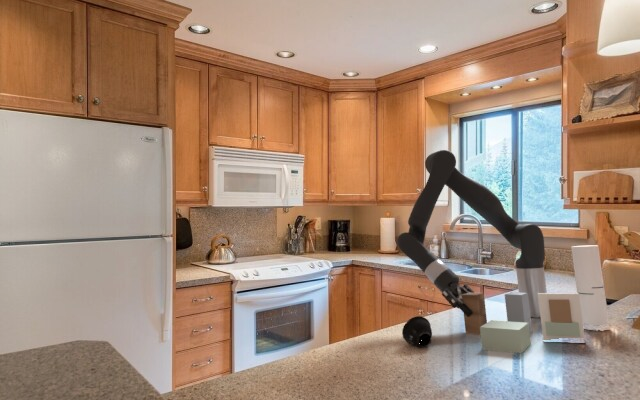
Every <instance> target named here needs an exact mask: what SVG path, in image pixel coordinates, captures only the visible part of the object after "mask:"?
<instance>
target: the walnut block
mask: <svg viewBox="0 0 640 400" xmlns="http://www.w3.org/2000/svg"><path fill="white" fill-rule="evenodd" d="M462 296H463V298H462V300H463V302H464V304H466V305H467V306H468V307H469V308H470V309H471V310H472V311H473V314H472V315H471V316H470V317H467V316H466V315H465V314H464V313H463V321H464V329H465V334H472V335H473V334H474V335H480V336H481V334H480V327H481V326H483V325H484V324H486V323H488V320H487V318H488V317H487V310H486V301H485V293H484V292H475V293H466V294H462Z"/></svg>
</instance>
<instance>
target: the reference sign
mask: <svg viewBox="0 0 640 400" xmlns="http://www.w3.org/2000/svg"><path fill="white" fill-rule="evenodd" d="M538 300H539V308H540V317H539V318H540V325H541V332H542V341H543V340H551V339H559V338H585V339H586V337H585V330H584V328H583V320H582V312H581V305H580V297H579V293H578V292H557V293H556V292H547V293H538Z"/></svg>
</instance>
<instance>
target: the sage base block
mask: <svg viewBox="0 0 640 400" xmlns="http://www.w3.org/2000/svg"><path fill="white" fill-rule="evenodd" d="M480 334H481V335H480ZM480 334H479V335H480V341H481V342H480V343H481V349H482V350H487V351H488V350H489V351H498V352H505V353H506V352H507V353H517V354H523V352H525V351H526V350H525V349H526V348H527V347H528V348H529V347H530V346H531V344H532V343H531V341H532V340H531V334H530V331H529V323H526V322H509V321H505V320H489V321H487V323H486V324H484V325H483V326H481V327H480ZM528 348H527V349H528Z"/></svg>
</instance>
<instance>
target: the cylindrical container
mask: <svg viewBox="0 0 640 400" xmlns="http://www.w3.org/2000/svg"><path fill="white" fill-rule="evenodd" d="M570 248H571V256H572V257H571V258H572V262H573V263H572V264H573V271H574V278H575V279H574V281H575V286H576V287H575V289H576V293H579V297H580V305H581V312H582V320H583V323H586V324H592V325H603V324H608V323H609V313H608V304H607V299H606V291H605V284H604V277H603V270H602V261H601V254H600V249H599V245H598V244H597V245H596V244H595V245H594V244H593V245H591V244H589V245H587V244H586V245H576V246H575V245H572V246H570ZM609 324H610V323H609Z"/></svg>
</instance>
